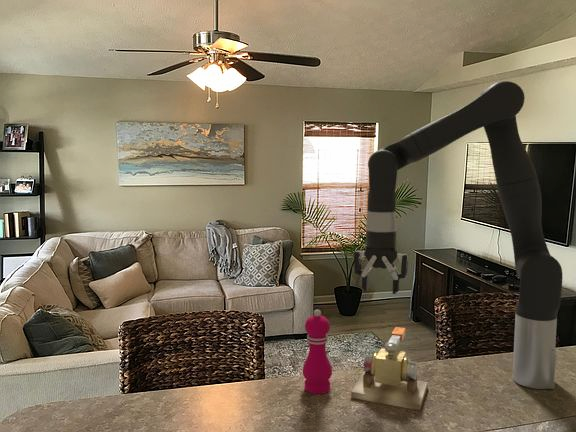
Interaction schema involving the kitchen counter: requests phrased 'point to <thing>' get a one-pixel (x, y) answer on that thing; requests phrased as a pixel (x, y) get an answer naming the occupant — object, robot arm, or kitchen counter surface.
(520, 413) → the kitchen counter surface
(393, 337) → the lever
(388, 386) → the board
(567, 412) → the kitchen counter surface
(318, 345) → the pepper mill
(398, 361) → the ball valve
